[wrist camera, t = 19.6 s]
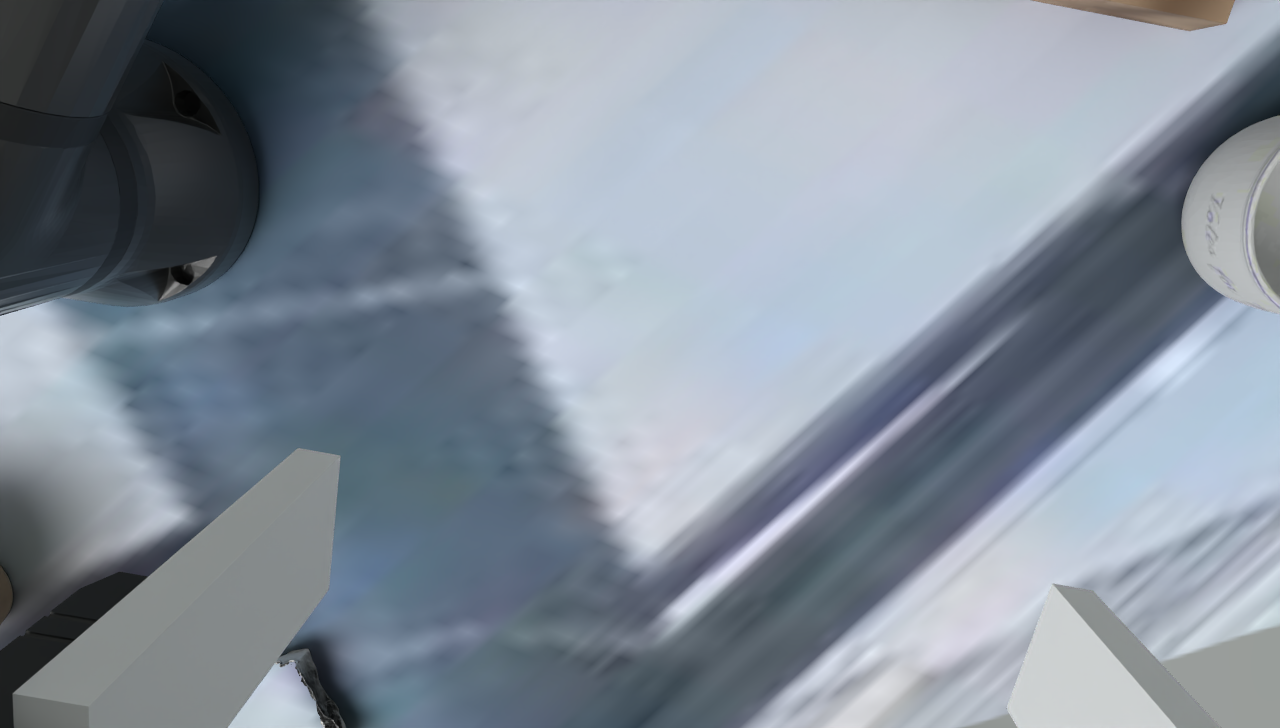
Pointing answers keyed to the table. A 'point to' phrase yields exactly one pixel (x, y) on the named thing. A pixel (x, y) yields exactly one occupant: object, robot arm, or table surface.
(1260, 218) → the teacup
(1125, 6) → the slotted rack
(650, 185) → the table surface
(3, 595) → the flower pot
